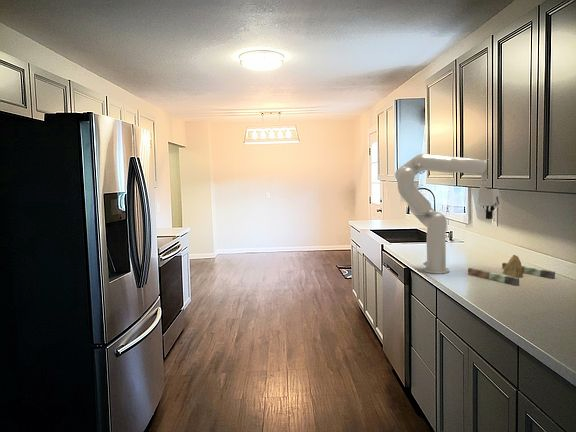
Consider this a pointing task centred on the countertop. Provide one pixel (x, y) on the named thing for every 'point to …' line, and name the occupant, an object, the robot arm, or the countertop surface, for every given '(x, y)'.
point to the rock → (514, 267)
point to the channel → (507, 278)
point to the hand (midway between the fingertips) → (489, 218)
